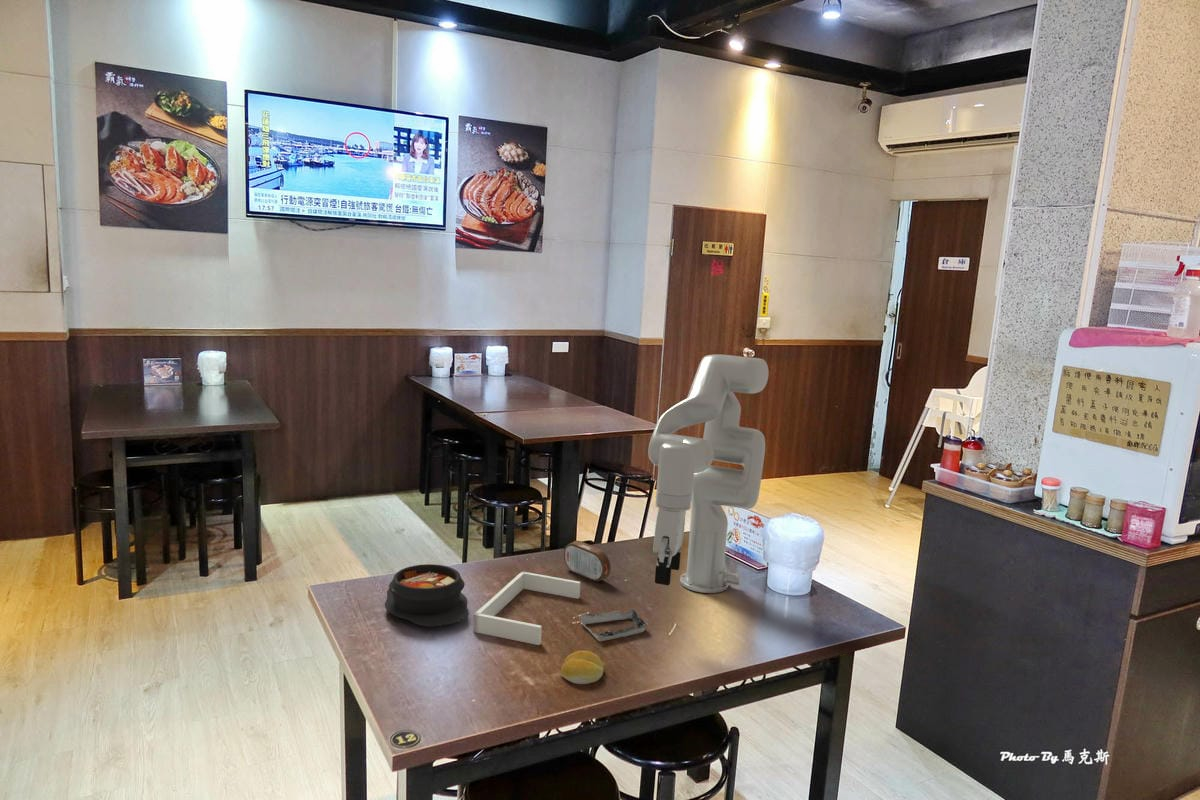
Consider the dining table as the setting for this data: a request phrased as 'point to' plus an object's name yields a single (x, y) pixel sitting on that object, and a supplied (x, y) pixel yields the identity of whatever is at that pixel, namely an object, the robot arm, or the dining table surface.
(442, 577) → the casserole
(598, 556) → the tin
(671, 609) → the dining table surface
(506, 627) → the box
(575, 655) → the bread roll
